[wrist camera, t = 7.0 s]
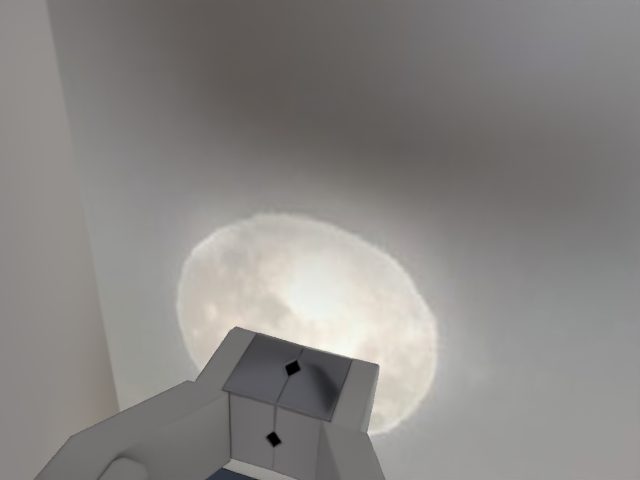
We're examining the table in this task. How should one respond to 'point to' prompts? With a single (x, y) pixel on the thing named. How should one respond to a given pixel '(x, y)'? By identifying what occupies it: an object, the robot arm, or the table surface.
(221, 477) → the stepped blue pedestal
